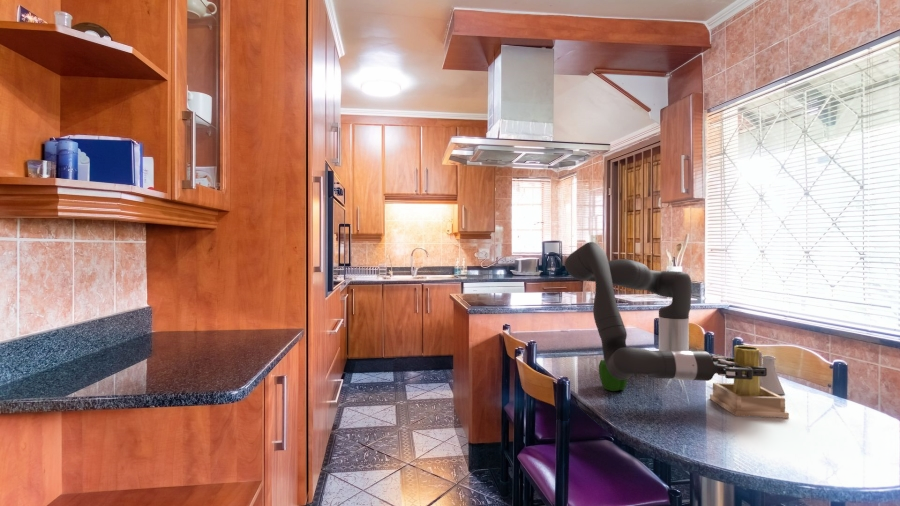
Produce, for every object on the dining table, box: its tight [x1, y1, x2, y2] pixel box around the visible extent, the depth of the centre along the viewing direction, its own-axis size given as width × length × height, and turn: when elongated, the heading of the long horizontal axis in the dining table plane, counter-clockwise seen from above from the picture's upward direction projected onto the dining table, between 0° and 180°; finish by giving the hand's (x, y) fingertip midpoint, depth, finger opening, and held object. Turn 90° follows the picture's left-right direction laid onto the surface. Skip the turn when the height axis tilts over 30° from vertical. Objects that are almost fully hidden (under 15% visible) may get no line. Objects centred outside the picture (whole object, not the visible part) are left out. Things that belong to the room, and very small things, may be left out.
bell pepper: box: [598, 359, 629, 392], centre depth 121 cm, size 8×8×10 cm
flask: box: [762, 354, 786, 396], centre depth 119 cm, size 7×7×10 cm
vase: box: [733, 344, 760, 396], centre depth 106 cm, size 6×6×14 cm
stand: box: [709, 350, 790, 419], centre depth 106 cm, size 12×13×13 cm
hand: (754, 366), depth 106 cm, fingers open, 8 cm apart
